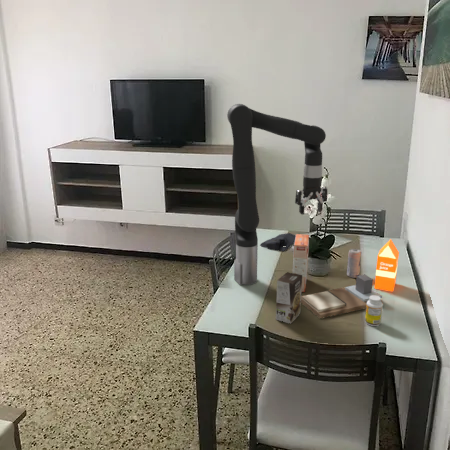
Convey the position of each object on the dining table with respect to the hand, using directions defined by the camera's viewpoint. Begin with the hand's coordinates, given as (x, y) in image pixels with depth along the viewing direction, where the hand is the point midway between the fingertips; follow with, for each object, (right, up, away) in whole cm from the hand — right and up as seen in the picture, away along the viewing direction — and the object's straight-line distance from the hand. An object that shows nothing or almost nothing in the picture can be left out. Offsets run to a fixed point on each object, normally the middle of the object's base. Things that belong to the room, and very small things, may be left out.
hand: (310, 212), depth 200 cm
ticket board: (+6, -36, -14) cm, 39 cm away
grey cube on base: (+20, -33, -9) cm, 39 cm away
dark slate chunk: (-7, -15, +51) cm, 54 cm away
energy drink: (+21, -28, +12) cm, 37 cm away
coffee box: (-13, -40, -23) cm, 48 cm away
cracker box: (-4, -31, +3) cm, 31 cm away
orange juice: (+32, -31, +1) cm, 45 cm away
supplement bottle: (+18, -41, -28) cm, 53 cm away
